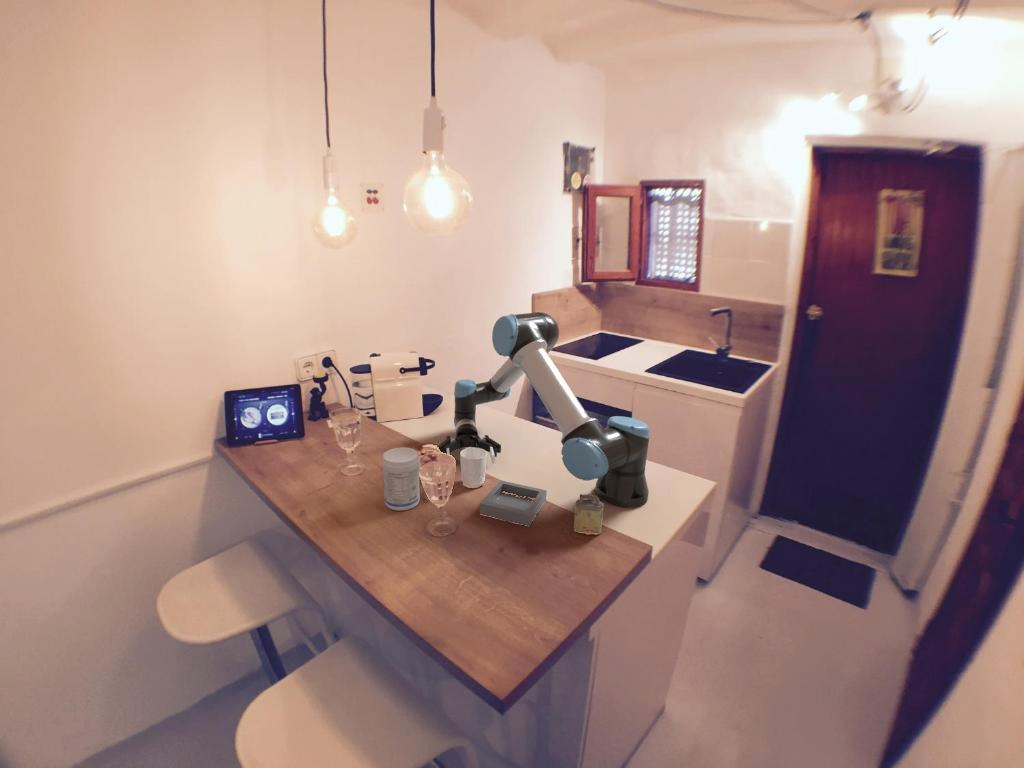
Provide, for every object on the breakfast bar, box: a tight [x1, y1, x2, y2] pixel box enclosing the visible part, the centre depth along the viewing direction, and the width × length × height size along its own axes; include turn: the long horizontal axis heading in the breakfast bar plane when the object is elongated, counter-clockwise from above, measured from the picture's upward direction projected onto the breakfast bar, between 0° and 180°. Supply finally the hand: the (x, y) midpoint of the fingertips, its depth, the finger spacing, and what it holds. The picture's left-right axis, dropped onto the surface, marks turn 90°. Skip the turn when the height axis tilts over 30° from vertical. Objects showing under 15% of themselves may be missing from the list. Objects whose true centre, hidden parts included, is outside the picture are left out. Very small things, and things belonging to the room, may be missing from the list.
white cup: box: [459, 447, 488, 486], centre depth 146 cm, size 8×8×10 cm
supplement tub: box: [382, 447, 421, 512], centre depth 134 cm, size 10×10×15 cm
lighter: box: [573, 493, 604, 533], centre depth 124 cm, size 7×4×10 cm, turn 85°
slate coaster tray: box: [479, 479, 547, 527], centre depth 135 cm, size 14×14×4 cm
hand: (471, 460), depth 150 cm, fingers open, 13 cm apart
